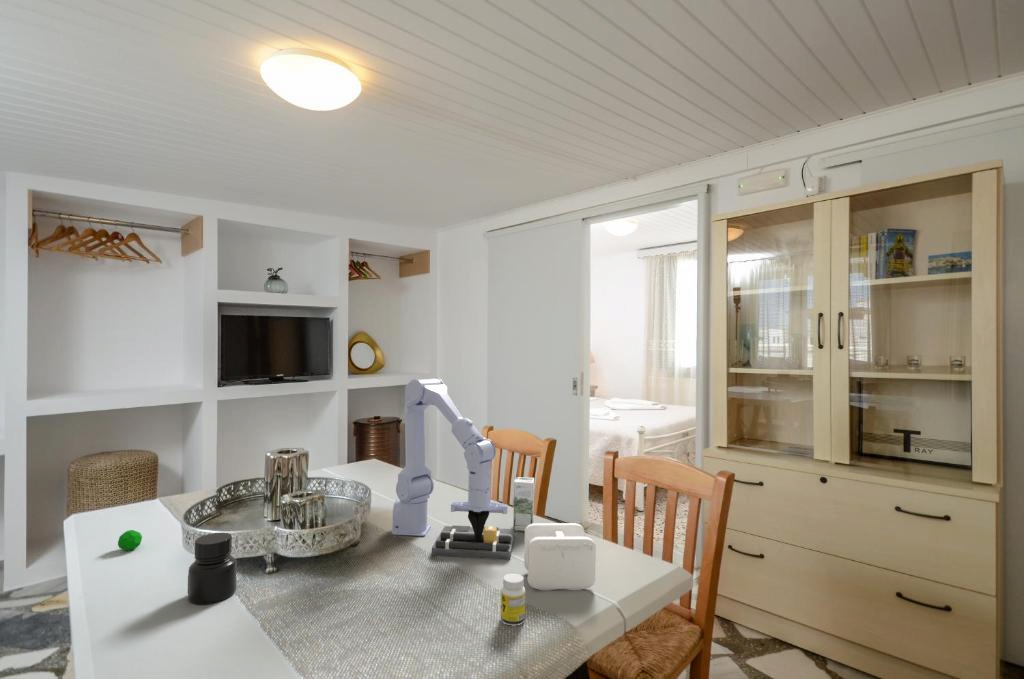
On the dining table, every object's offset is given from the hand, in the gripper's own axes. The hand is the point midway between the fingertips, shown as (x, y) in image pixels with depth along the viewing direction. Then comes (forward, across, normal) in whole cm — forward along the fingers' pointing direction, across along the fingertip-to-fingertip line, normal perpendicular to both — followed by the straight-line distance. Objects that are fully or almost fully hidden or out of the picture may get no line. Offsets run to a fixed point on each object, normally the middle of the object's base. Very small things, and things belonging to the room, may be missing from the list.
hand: (478, 540), depth 135 cm
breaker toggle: (+1, +3, 0) cm, 3 cm away
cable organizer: (+4, +20, -14) cm, 25 cm away
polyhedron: (+3, -88, -9) cm, 89 cm away
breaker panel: (+3, -2, +4) cm, 6 cm away
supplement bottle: (+3, +12, -32) cm, 34 cm away
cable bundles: (+1, -1, +1) cm, 2 cm away
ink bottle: (+3, -52, -29) cm, 60 cm away
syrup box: (+3, +10, +19) cm, 22 cm away
